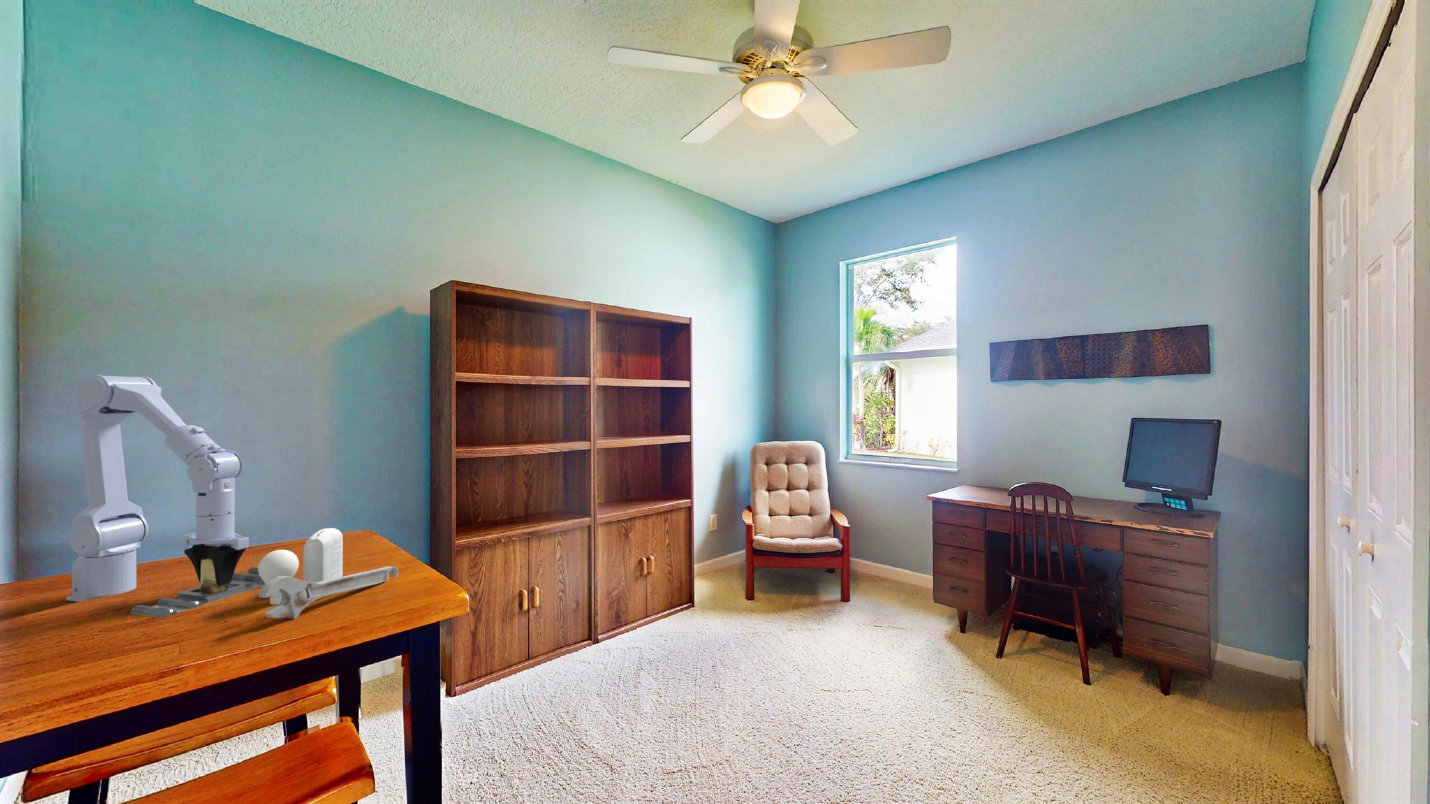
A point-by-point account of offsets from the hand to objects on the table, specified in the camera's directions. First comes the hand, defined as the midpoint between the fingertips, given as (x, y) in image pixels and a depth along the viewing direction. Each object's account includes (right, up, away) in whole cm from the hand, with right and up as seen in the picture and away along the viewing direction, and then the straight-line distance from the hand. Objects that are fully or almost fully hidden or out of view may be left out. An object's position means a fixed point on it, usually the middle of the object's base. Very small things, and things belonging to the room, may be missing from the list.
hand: (215, 583), depth 111 cm
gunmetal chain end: (+1, -3, +3) cm, 5 cm away
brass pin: (0, -2, 0) cm, 2 cm away
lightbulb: (+16, -4, -4) cm, 16 cm away
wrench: (+24, -4, 0) cm, 24 cm away
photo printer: (+16, -4, +7) cm, 18 cm away
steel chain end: (-1, -3, -4) cm, 5 cm away
